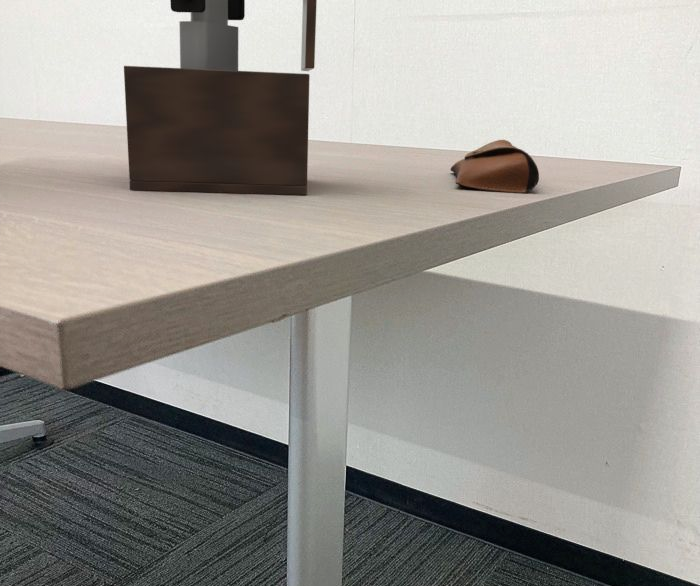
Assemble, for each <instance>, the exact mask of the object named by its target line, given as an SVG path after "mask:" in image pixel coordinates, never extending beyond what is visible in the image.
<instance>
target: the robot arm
mask: <svg viewBox="0 0 700 586" xmlns="http://www.w3.org/2000/svg"><path fill="white" fill-rule="evenodd" d="M169 2H170V10H171V11H172V12H174V13H191V12H195V13H202V12H204V11H205V8H206V3H205V0H170V1H169ZM245 4H246V3H245V0H228V21H243V20H244V19H245V15H246V13H245V12H246V10H245V9H246V7H245V6H246V5H245Z"/></svg>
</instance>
